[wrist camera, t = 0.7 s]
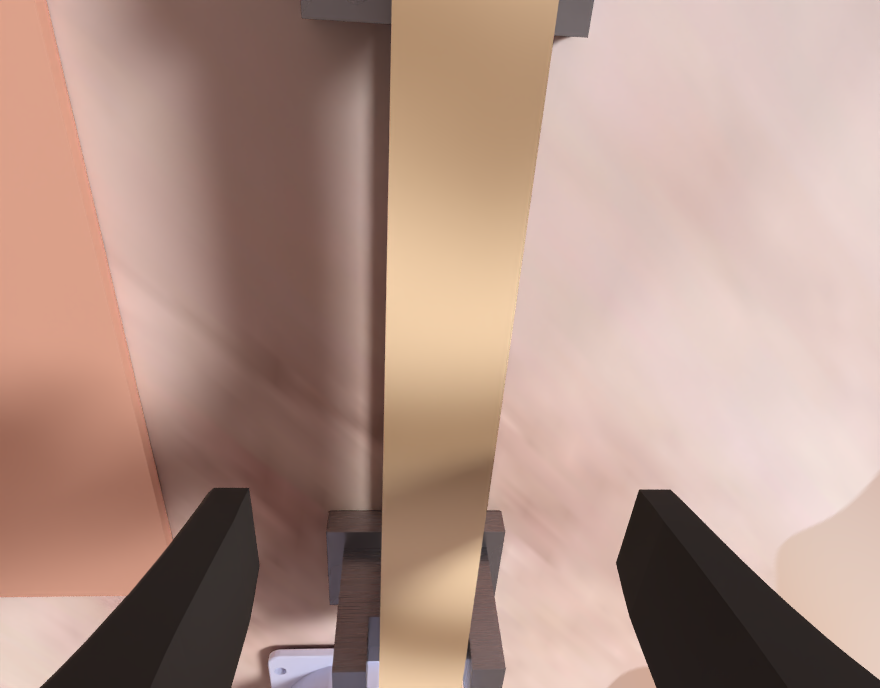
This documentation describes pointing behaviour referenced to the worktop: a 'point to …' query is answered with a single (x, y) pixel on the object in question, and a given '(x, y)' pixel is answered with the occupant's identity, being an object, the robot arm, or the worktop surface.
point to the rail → (450, 305)
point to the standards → (361, 531)
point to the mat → (62, 352)
